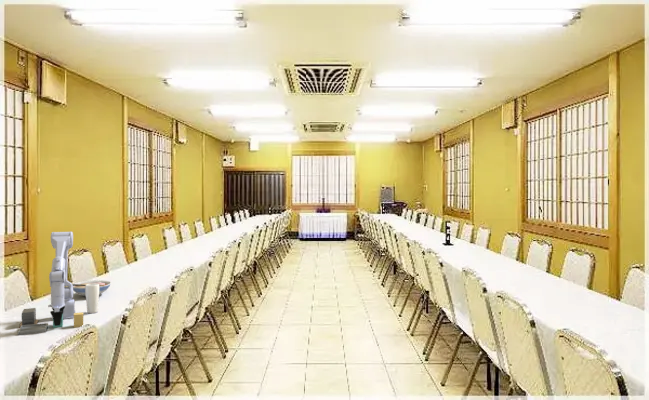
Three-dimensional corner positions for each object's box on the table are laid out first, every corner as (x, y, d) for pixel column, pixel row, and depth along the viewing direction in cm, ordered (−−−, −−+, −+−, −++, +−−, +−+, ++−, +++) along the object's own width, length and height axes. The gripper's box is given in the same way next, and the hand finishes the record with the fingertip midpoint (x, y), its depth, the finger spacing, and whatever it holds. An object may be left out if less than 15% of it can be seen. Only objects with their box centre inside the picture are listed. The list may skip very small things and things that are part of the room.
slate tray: (47, 326, 238) (47, 322, 238) (45, 332, 228) (45, 329, 228) (21, 328, 234) (21, 325, 234) (17, 335, 224) (17, 331, 224)
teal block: (62, 324, 241) (62, 312, 241) (62, 327, 237) (62, 314, 237) (53, 325, 239) (53, 313, 239) (52, 328, 235) (52, 315, 235)
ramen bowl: (120, 292, 314) (119, 279, 314) (100, 300, 291) (100, 286, 291) (82, 291, 316) (82, 278, 316) (60, 299, 294) (60, 285, 293)
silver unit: (38, 321, 247) (38, 307, 247) (36, 326, 238) (36, 311, 237) (22, 322, 244) (21, 308, 244) (19, 328, 235) (19, 313, 235)
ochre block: (83, 324, 242) (83, 312, 242) (83, 326, 238) (83, 314, 238) (74, 325, 240) (74, 313, 240) (73, 327, 236) (73, 315, 236)
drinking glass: (101, 310, 268) (101, 283, 267) (96, 314, 261) (96, 285, 261) (88, 310, 268) (88, 283, 267) (83, 314, 261) (83, 285, 260)
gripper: (49, 293, 242) (49, 320, 243) (46, 299, 229) (47, 328, 230) (65, 291, 245) (65, 318, 246) (63, 298, 232) (64, 326, 233)
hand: (58, 323), depth 238 cm, fingers open, 7 cm apart
